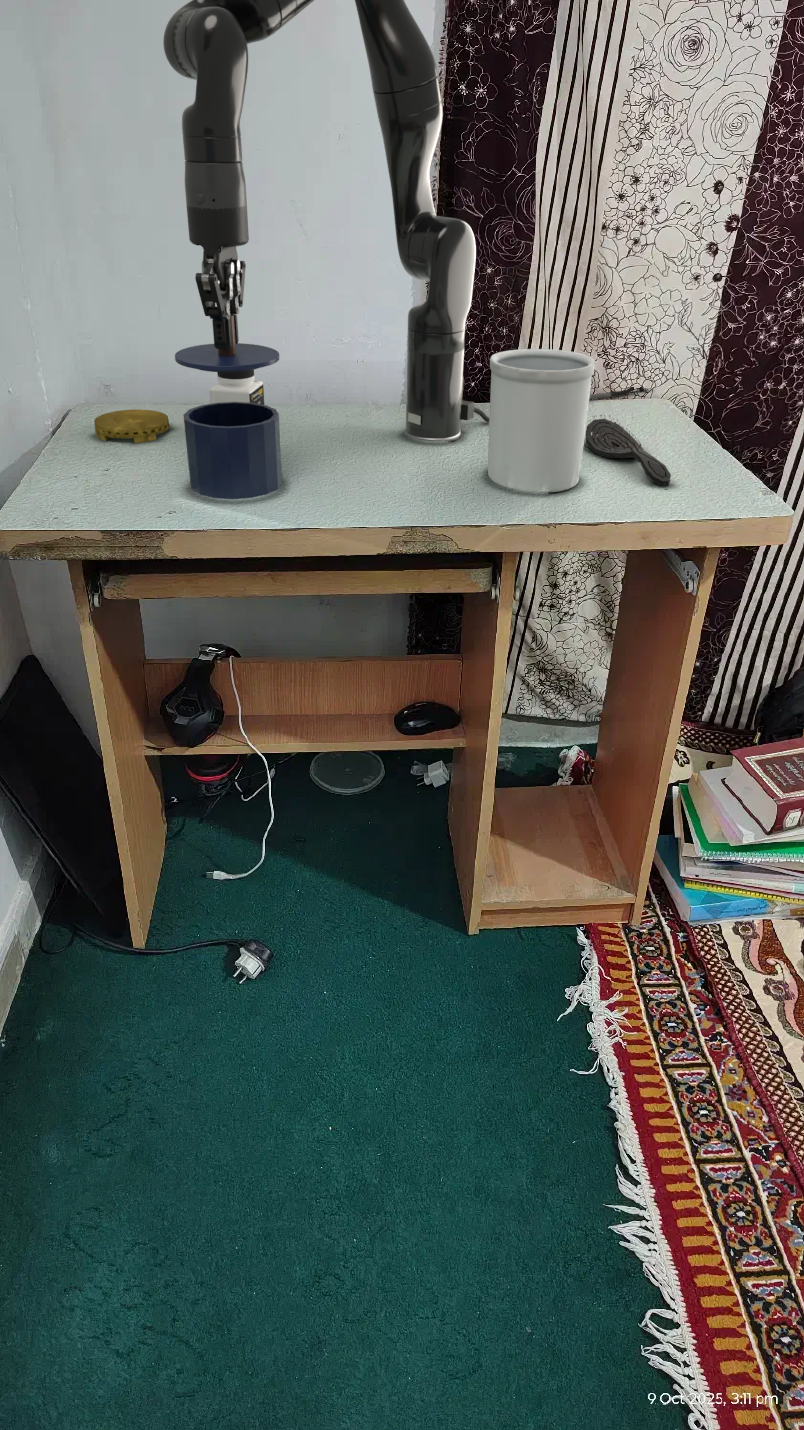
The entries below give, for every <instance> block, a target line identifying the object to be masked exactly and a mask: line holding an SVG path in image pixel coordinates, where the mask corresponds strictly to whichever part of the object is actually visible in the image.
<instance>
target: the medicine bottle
mask: <svg viewBox="0 0 804 1430" xmlns="http://www.w3.org/2000/svg"><path fill="white" fill-rule="evenodd" d="M216 373H217V381H218V383H215V385H213V386H212V387H210V389H209V402H210V404H212V403H220V402H248V403H256V404H262V405H265V391H264V382H263V381H259V380H255V369H254V370H249V371H242V372H216Z"/></svg>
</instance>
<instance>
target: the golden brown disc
mask: <svg viewBox="0 0 804 1430" xmlns="http://www.w3.org/2000/svg"><path fill="white" fill-rule="evenodd" d="M169 420H170V419H169V416H168V415H167V414H166V413H164V412H161V411H158V410H151V409H122V410H121V409H120V410H114V411H110V412H106V413H102V414H101V415H98V416H96V417H95V418H94V421H93V423H94V430H95V435H96V437H97V438H98V439H100V440H102V441H104V442H105V441H108V440H112V439H133V441H134V444H137V443H138V444H140V443H146V442H153V441H157V436H158V435H160V434H163V433H165V432H166V431H170V421H169Z"/></svg>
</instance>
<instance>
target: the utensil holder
mask: <svg viewBox="0 0 804 1430" xmlns="http://www.w3.org/2000/svg"><path fill="white" fill-rule="evenodd" d="M489 358H490V359H489V368H490V371H491V374H490V375H491V377H490V398H489V399H490V400H489V416H488V417H489V423H488V443H487V444H488V445H487V447H488V449H487V458H488V459H487V475H488V477H489V479H490V480H492V481H493V482H495V483H496V484H498V485H501V486H504V487H506V488H511V489H516V490H521V491H529V492H530V491H531V492H547V493H548V494H549V493H557V492H558V493H559V492H563V491H566V490H569V489H572V488H574V487H575V486H577V484H578V483H579V480H580V474H581V466H582V462H583V461H582V460H583V452H584V446H585V445H584V444H585V438H586V428H587V419H588V412H589V402H590V399H589V396H590V395H591V386H592V377H593V374H594V372H595V369H596V361H595V359H594V358H593V357H592V356H589V355H587V354H583V353H580V352H575V351H570V350H562V349H550V348H526V349H525V348H523V349H511V350H504V351H499V352H496V353H494V354H492V355H491V356H490V357H489Z"/></svg>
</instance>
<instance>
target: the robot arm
mask: <svg viewBox="0 0 804 1430" xmlns="http://www.w3.org/2000/svg"><path fill="white" fill-rule="evenodd" d="M314 1H315V0H190V1H189V2H187V3H185V4H184V5H183V6H181V7H180V8H179V9H178V10H176V11H175V12H174V13H173V15H172V16H171V17H170V19H169V20H168V21H167V24H166V26H165V29H164V32H163V39H162V40H163V45H162V46H163V51H164V54H165V55H164V56H165V58H166V60H167V62H168V64H169V65H170V67H171V68H172V69H173V70H174V71H175V72H176V73H177V74H178V75H180V76H182V77H184V78H187V79H188V80H194V81H196V85H195V96H194V97H195V98H194V101H193V103H192V104H190V105H189V106H187V107H186V108H184V110H183V112H182V114H181V132H182V142H183V143H182V144H183V145H182V146H183V155H184V156H183V157H184V192H185V203H186V204H185V205H186V215H187V228H188V240H189V242H190V243H191V244H192V245H195V246H200V247H202V250H203V252H202V254H203V256H202V261H201V272H196V273H195V283H196V287H197V291H198V295H199V298H200V302H201V305H202V309H203V313H204V316H205V317H209V319H211V322H212V332H213V333H212V334H213V335H212V336H213V344H214V346H215V348H216V349H226V350H228V349H230V348H231V346H232V341H231V327H230V314H233V315H234V327H235V342H236V344H237V343H239V341H240V340H239V339H240V337H239V324H238V315H239V314H240V308H243V305H244V295H245V294H244V293H245V279H246V268H247V264H246V261H244V260H240V259H239V256H238V255H239V254H238V250H237V247H242V246H244V245H247V244H248V243H249V240H250V236H249V222H248V221H249V219H248V201H247V199H248V198H247V184H246V177H245V171H244V166H243V151H242V149H243V148H242V134H241V117H242V113H243V112H242V111H243V107H244V101H245V95H246V87H247V81H248V72H249V48H248V45H250V44H252V43H257V42H261V41H264V40H267V39H268V38H270V37H271V36H273V35H274V34H276V32H278V31H279V30H280V29H282V28H283V27H284V26H286V24H288V23H289V22H290V21H292V20H293V19H294V18H295V17H297V15H299V14H300V13H301V12H302V11H303V10H304V9H306V8H307V7H308V6H309V5H310V4H311V3H313V2H314ZM354 3H355V7H356V12H357V17H358V21H359V25H360V30H361V35H362V40H363V46H364V50H365V54H366V58H367V63H368V68H369V75H370V82H371V88H372V93H373V99H374V103H375V109H376V114H377V119H378V123H379V128H380V131H381V136H382V142H383V148H384V153H385V159H386V165H387V171H388V176H389V183H390V188H391V198H392V199H391V200H392V207H393V218H394V226H395V227H394V228H395V237H396V247H397V253H398V257H399V260H400V264H401V265H402V268H403V270H404V272H406V273H407V274H408V276H410V277H412V278H414V279H416V280H420V281H421V280H422V281H426V282H428V290H427V291H428V292H427V297H426V299H425V301H424V302H422V303H420V304H417V305H414V306H412V307H410V309H409V310H408V313H407V336H406V337H407V342H406V343H407V344H406V345H407V346H406V349H407V350H406V389H405V394H406V395H405V428H404V434H405V435H406V436H407V437H409V438H411V439H415V440H420V441H424V442H425V441H426V442H442V441H443V442H448V443H450V442H454V441H457V440H458V439H459V438H460V437H461V431H462V421H468V422H469V420H471V419H473V418H474V417H475V414H477V415H479V417H481V418H482V420H483V421H485V422H486V423H488V424H489V417H490V416H488V415H487V414H485V412H484V411H482V409H480V408H477V407H475V402H474V401H468V400H464V399H463V392H464V362H465V359H464V358H465V340H466V339H465V338H466V323H467V322H466V321H467V318H468V316H469V312H470V310H471V306H472V299H473V291H474V280H475V269H476V259H477V258H476V257H477V245H476V239H475V238H476V237H475V235H474V232H473V231H474V230H472V227H471V226H470V224H469V223H467V222H466V221H465V220H463V219H460V218H456V217H449V216H441V215H437V213H436V209H435V205H434V199H433V192H432V186H431V185H432V184H431V170H432V164H433V159H434V156H435V153H436V149H437V146H438V143H439V140H440V135H441V132H442V126H443V120H444V119H443V118H444V110H443V109H444V108H443V101H442V93H441V88H440V81H439V74H438V73H439V72H438V68H437V64H436V63H437V62H436V60H435V57H434V54H433V51H432V50H431V47H430V45H429V43H428V41H427V39H426V37H425V35H424V33H423V32H422V30H421V28H420V27H419V25H418V23H417V21H416V20H415V18H414V16H413V15H412V13H411V11H410V10H409V8H408V5H407V3H406V2H405V0H354ZM635 390H639V392H641V393H643V392H645V391H646V390H645V388H644V387H643V386H642V387H640V388H636V389H634V387H632V386H631V387H629V388H627V389H624V390H618V391H617V390H616V391H609V392H608V391H607V392H601V393H599V392H598V393H593V394H590V396H589V400H593V399H601V398H611V397H618V396H625V395H628V394H630V393H632V392H634V391H635Z"/></svg>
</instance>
